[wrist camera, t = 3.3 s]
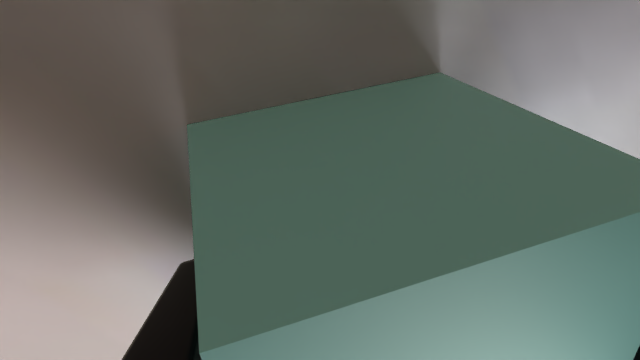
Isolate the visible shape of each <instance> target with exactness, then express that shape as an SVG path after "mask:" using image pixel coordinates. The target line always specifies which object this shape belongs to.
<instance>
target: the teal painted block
mask: <svg viewBox="0 0 640 360" xmlns="http://www.w3.org/2000/svg"><path fill="white" fill-rule="evenodd" d="M187 134H188V153H189V172H190V190H191V209H192V227H193V246H194V265H195V283H196V302H197V320H198V339H199V354H200V357H201V359H202V360H633V359H634V357H635V354H636V352H637V350H638V348H639V345H640V159H638V158H635V157H633V156H631V155H628V154H626V153H624V152H622V151H619V150H617V149H615V148H612V147H610V146H608V145H605V144H603V143H601V142H599V141H596V140H594V139H592V138H589V137H587V136H585V135H582V134H580V133H578V132H576V131H573V130H571V129H569V128H566V127H564V126H562V125H560V124H557V123H555V122H553V121H550V120H548V119H546V118H543V117H541V116H539V115H537V114H534V113H532V112H530V111H527V110H525V109H523V108H520V107H518V106H516V105H514V104H511V103H509V102H507V101H504V100H502V99H500V98H497V97H495V96H493V95H491V94H488V93H486V92H484V91H481V90H479V89H477V88H474V87H472V86H470V85H468V84H465V83H463V82H461V81H458V80H456V79H454V78H452V77H449V76H447V75H445V74H442V73H435V74H430V75H426V76H421V77H416V78H411V79H406V80H401V81H397V82H392V83H387V84H382V85H377V86H372V87H367V88H363V89H358V90H353V91H348V92H343V93H338V94H333V95H329V96H324V97H319V98H314V99H309V100H304V101H300V102H295V103H290V104H285V105H280V106H275V107H270V108H266V109H261V110H256V111H251V112H246V113H241V114H236V115H232V116H227V117H222V118H217V119H212V120H207V121H203V122H198V123H193V124H188V125H187Z"/></svg>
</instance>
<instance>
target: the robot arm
mask: <svg viewBox="0 0 640 360" xmlns="http://www.w3.org/2000/svg"><path fill="white" fill-rule="evenodd" d="M122 360H202V359H201V357H200V354H199V339H198V320H197V302H196V283H195V265H194V259H193V260H189V261H186V262H183V263H181V264H180V265H179V267H178V268H177V270H176V272H175V273H174V275H173V277H172V278H171V280H170V281H169V283H168V285H167V286H166V288H165V290H164V291H163V293H162V295H161V296H160V298H159V299H158V301H157V303H156V304H155V306H154V308H153V309H152V311H151V313H150V314H149V316H148V317H147V319H146V321H145V322H144V324H143V326H142V327H141V329H140V331H139V332H138V334H137V335H136V337H135V339H134V340H133V342H132V344H131V345H130V347H129V348H128V350H127V352H126V353H125V355H124V357H123V358H122ZM633 360H640V345H639V348H638V350H637V352H636V354H635V357H634V359H633Z"/></svg>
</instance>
